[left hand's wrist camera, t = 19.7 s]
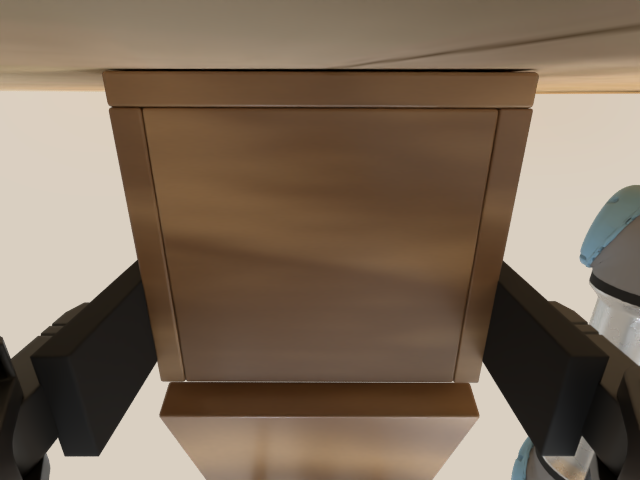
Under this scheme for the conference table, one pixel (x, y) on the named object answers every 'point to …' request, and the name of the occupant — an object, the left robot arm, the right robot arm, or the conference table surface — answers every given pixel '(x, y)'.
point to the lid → (319, 428)
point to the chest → (320, 218)
